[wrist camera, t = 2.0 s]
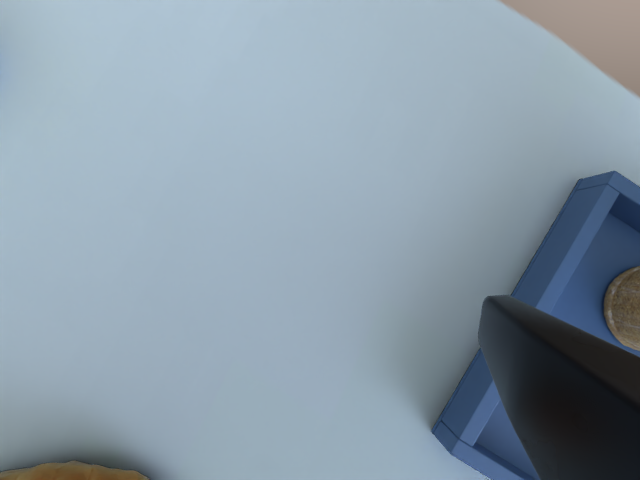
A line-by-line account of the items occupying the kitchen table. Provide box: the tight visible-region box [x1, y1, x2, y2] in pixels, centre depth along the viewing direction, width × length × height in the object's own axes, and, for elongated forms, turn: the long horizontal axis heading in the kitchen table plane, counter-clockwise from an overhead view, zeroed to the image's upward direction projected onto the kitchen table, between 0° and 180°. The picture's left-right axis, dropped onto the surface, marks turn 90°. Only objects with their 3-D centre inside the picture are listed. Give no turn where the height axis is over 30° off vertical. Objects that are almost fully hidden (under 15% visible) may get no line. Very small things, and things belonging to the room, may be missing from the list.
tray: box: [431, 171, 640, 480], centre depth 24 cm, size 16×13×3 cm
